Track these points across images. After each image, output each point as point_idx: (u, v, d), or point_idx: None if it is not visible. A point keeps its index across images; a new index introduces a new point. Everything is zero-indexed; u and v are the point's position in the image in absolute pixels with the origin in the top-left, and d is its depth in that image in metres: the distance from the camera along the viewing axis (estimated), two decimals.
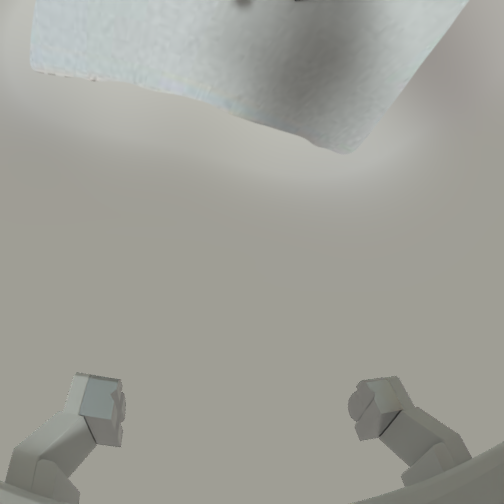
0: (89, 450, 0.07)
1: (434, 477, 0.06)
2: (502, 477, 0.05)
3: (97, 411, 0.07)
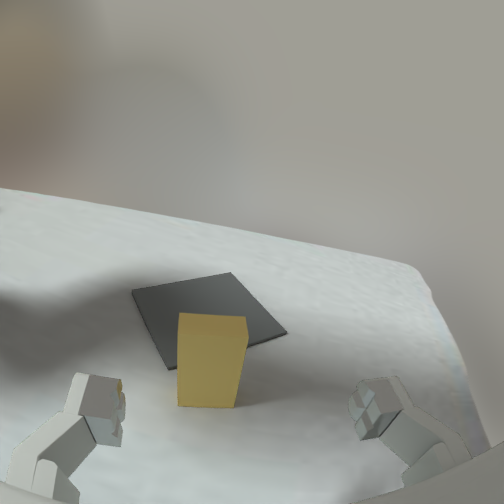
0: (89, 450, 0.07)
1: (434, 477, 0.06)
2: (502, 477, 0.05)
3: (97, 411, 0.07)
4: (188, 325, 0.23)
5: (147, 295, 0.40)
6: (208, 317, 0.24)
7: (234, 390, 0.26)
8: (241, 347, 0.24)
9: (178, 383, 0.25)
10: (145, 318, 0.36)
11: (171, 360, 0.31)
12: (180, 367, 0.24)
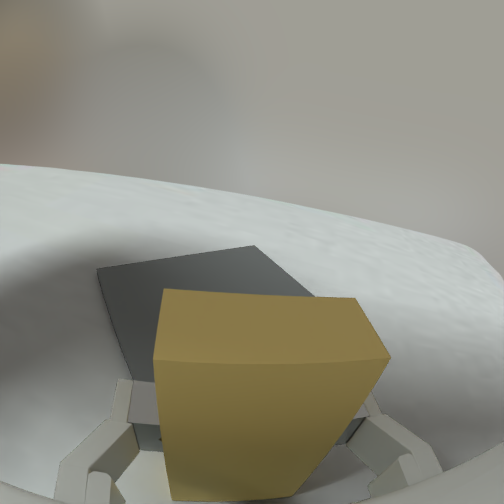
0: (133, 457, 0.08)
1: (434, 477, 0.06)
2: (502, 477, 0.05)
3: (146, 417, 0.08)
4: (192, 329, 0.07)
5: (121, 277, 0.23)
6: (256, 302, 0.08)
7: (304, 474, 0.10)
8: (360, 390, 0.07)
9: (169, 472, 0.08)
10: (112, 315, 0.19)
11: None
12: (170, 446, 0.07)
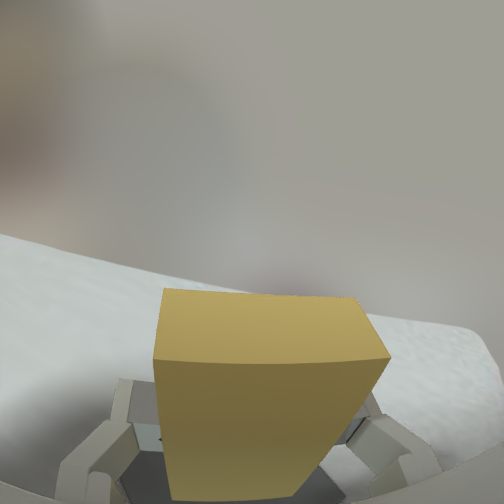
0: (133, 457, 0.08)
1: (434, 477, 0.06)
2: (502, 477, 0.05)
3: (146, 417, 0.08)
4: (192, 328, 0.07)
5: None
6: (256, 302, 0.08)
7: (304, 474, 0.10)
8: (360, 390, 0.07)
9: (169, 472, 0.08)
10: (129, 495, 0.17)
11: None
12: (171, 446, 0.07)
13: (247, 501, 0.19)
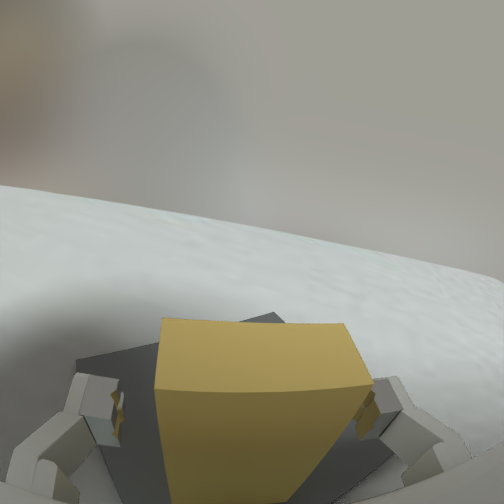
0: (89, 450, 0.07)
1: (434, 477, 0.06)
2: (502, 477, 0.05)
3: (97, 411, 0.07)
4: (189, 358, 0.07)
5: (107, 375, 0.16)
6: (249, 331, 0.08)
7: (297, 483, 0.10)
8: (345, 411, 0.08)
9: (170, 481, 0.09)
10: None
11: None
12: (171, 459, 0.08)
13: None
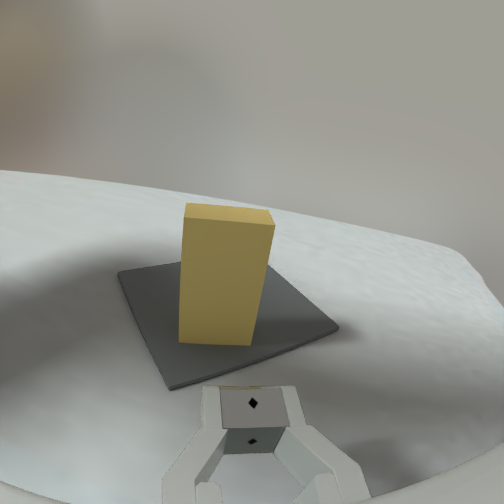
0: (217, 462, 0.08)
1: (434, 477, 0.06)
2: (502, 477, 0.05)
3: (240, 421, 0.08)
4: (197, 212, 0.19)
5: (139, 279, 0.28)
6: (223, 207, 0.20)
7: (253, 315, 0.22)
8: (265, 242, 0.19)
9: (180, 303, 0.20)
10: (135, 310, 0.24)
11: (174, 375, 0.19)
12: (184, 274, 0.19)
13: None
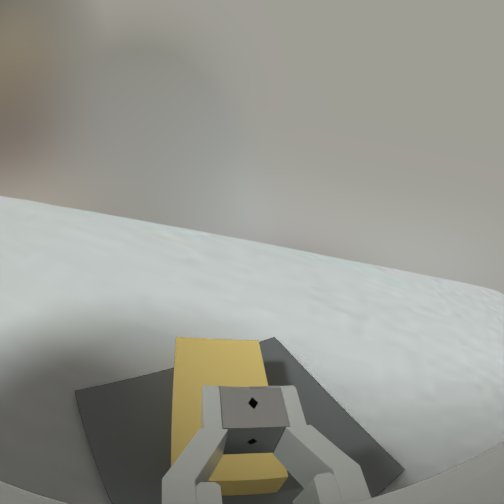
0: (217, 462, 0.08)
1: (434, 477, 0.06)
2: (502, 477, 0.05)
3: (240, 421, 0.08)
4: None
5: (106, 407, 0.16)
6: None
7: None
8: (255, 352, 0.19)
9: (173, 416, 0.14)
10: (102, 474, 0.12)
11: None
12: (177, 383, 0.16)
13: None
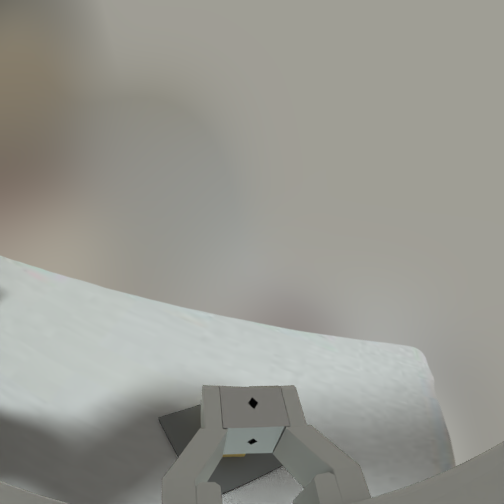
0: (217, 462, 0.08)
1: (434, 477, 0.06)
2: (502, 477, 0.05)
3: (240, 421, 0.08)
4: None
5: (174, 423, 0.39)
6: None
7: None
8: None
9: None
10: (176, 451, 0.35)
11: None
12: None
13: None
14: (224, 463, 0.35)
